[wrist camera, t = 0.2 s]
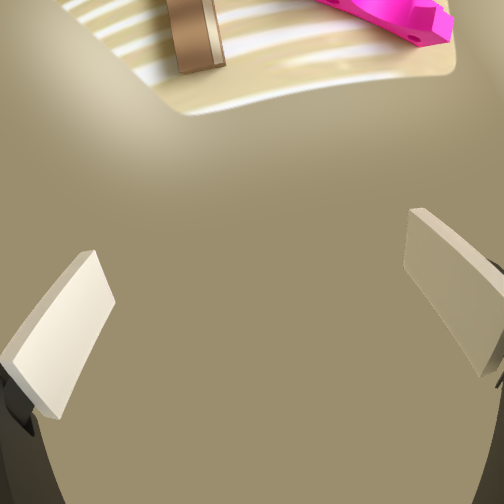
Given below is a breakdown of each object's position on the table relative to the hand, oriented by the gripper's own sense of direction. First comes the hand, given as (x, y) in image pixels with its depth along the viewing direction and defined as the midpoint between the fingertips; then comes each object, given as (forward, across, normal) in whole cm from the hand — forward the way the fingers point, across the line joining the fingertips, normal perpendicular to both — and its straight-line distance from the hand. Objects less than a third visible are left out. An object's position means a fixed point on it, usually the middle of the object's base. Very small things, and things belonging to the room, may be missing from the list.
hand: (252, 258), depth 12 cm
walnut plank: (+27, -4, +19) cm, 33 cm away
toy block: (+28, +19, +19) cm, 38 cm away
